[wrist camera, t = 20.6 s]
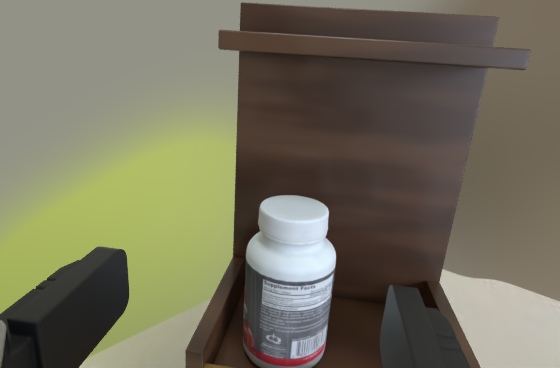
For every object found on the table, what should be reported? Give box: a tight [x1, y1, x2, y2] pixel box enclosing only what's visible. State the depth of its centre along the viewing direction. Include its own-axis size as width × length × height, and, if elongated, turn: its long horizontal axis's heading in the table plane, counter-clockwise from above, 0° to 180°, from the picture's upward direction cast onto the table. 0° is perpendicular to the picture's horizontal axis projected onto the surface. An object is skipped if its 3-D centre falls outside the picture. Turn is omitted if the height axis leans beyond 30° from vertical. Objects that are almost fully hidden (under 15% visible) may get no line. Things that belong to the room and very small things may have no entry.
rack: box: [186, 3, 531, 368], centre depth 24 cm, size 12×16×30 cm
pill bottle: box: [243, 195, 336, 368], centre depth 23 cm, size 5×5×10 cm
